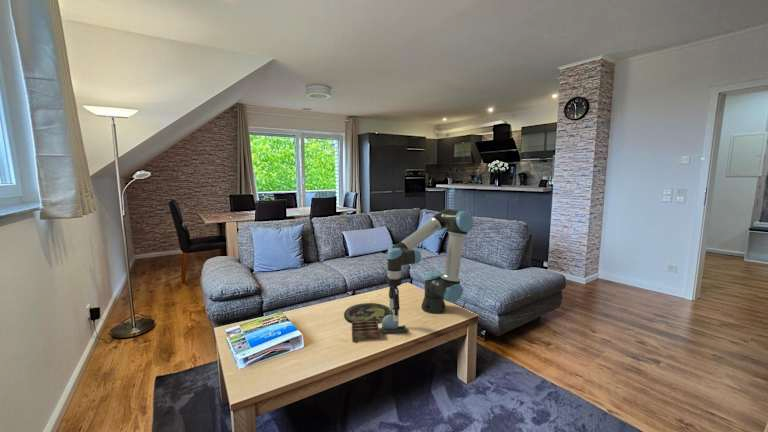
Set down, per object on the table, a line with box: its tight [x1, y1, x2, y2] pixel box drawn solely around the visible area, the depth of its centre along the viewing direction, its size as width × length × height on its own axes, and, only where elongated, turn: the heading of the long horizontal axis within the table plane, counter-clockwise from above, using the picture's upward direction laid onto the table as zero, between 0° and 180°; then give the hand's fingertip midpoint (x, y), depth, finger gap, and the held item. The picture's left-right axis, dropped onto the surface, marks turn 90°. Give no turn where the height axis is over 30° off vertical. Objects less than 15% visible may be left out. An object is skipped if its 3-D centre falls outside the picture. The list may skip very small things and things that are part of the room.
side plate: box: [381, 315, 400, 330], centre depth 176 cm, size 9×2×9 cm, turn 97°
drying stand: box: [381, 324, 408, 335], centre depth 177 cm, size 13×6×2 cm, turn 98°
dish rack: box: [351, 321, 380, 343], centre depth 173 cm, size 14×12×5 cm
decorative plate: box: [343, 302, 393, 324], centre depth 199 cm, size 30×2×30 cm
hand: (393, 315), depth 175 cm, fingers open, 13 cm apart
